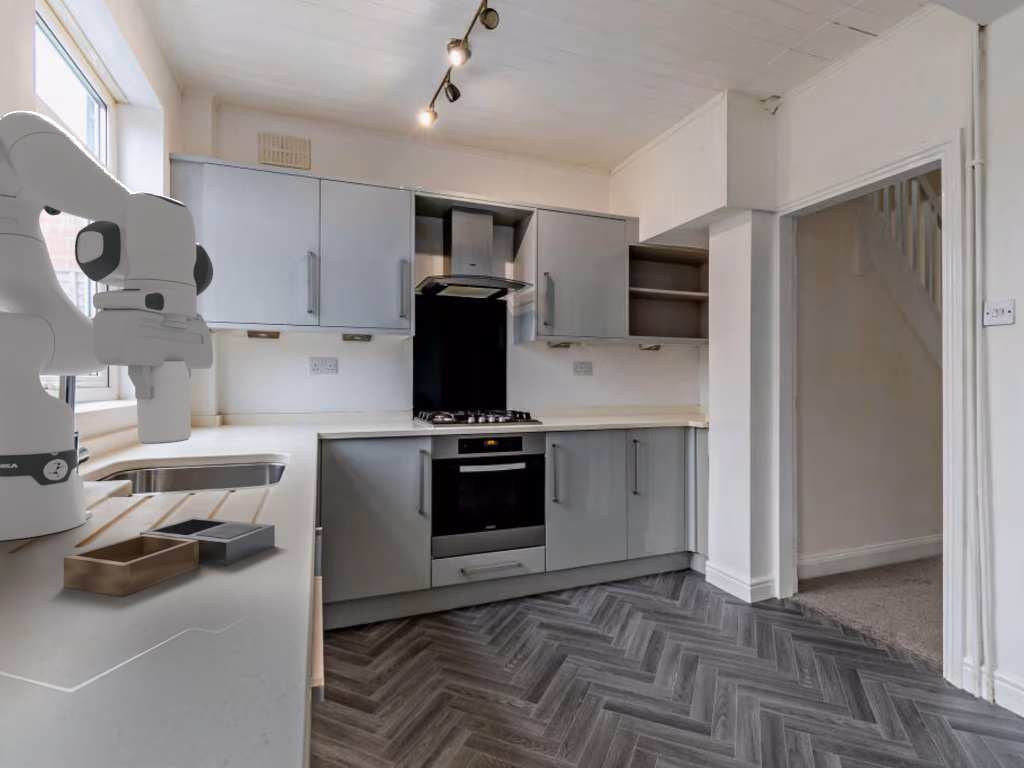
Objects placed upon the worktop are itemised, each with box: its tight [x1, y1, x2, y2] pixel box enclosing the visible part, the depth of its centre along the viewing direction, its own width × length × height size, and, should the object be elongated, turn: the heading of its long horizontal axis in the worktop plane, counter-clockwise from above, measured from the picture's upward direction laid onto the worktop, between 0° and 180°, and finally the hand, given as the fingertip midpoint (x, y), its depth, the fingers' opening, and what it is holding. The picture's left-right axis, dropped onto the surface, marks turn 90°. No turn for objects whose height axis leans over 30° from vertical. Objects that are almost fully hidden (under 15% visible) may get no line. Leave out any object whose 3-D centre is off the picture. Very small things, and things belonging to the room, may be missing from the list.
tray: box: [139, 516, 276, 568], centre depth 80 cm, size 17×9×4 cm, turn 73°
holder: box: [63, 534, 200, 598], centre depth 69 cm, size 11×11×4 cm
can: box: [136, 360, 192, 445], centre depth 75 cm, size 6×6×12 cm
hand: (161, 398), depth 74 cm, fingers closed on can, 5 cm apart
